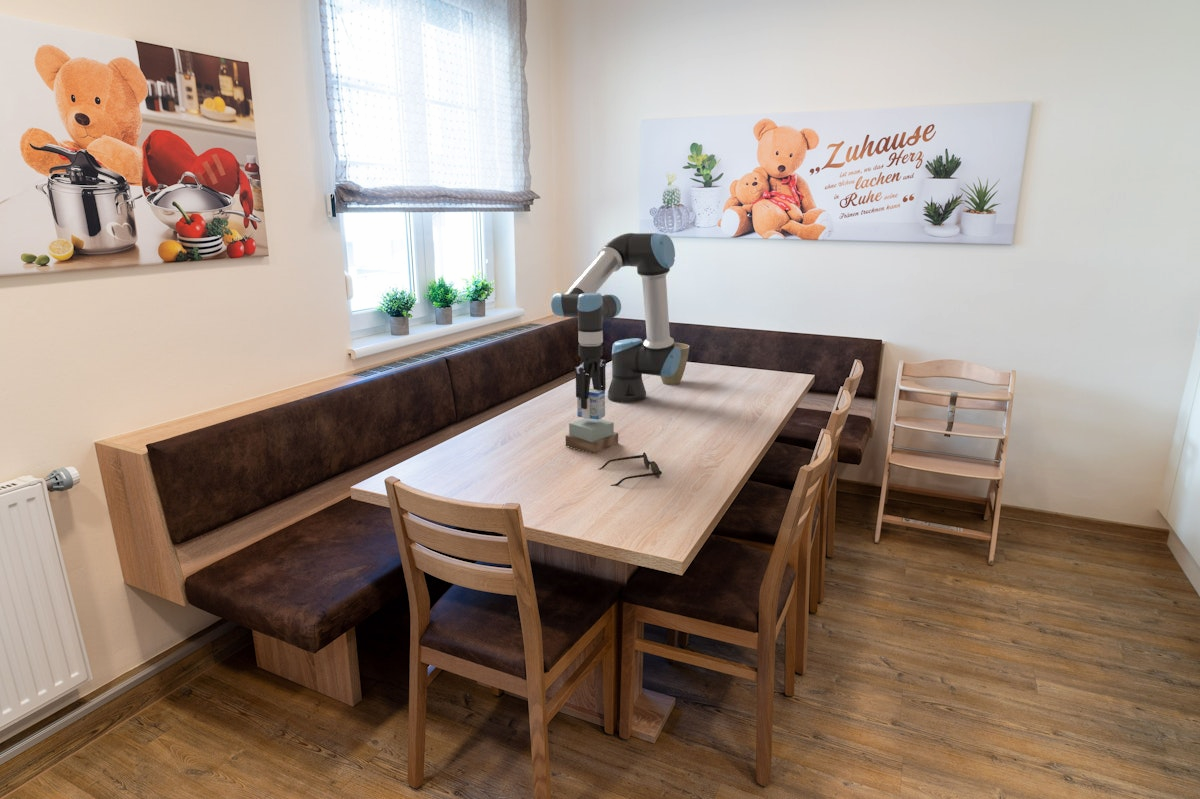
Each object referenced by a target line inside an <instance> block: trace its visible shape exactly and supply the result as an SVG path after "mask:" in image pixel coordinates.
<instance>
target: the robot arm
mask: <svg viewBox="0 0 1200 799" xmlns="http://www.w3.org/2000/svg"><path fill="white" fill-rule="evenodd" d="M597 252H598V253H597V255H596V257H597V258H595V260H593V262H591V264H590V265H589V266H588V267H587V268H586V269H585V271H583V273H582V274H581V275H580V276H579V277H578V278H577V280H575V282H574V283H573V284H572V285H571V286H570V287H569V289H568V290H566V292H559V293H558V292H557V293H555V294H554V295H553V296H552V298H551V302H550V307H551V311H552V313H553V314H554V315H555V316H558V317H564V318H577V330H578V332H577V333H578V337H577V338H578V343H579V344H578V347H577V348H578V350H577V351H578V357H580V364H579V366H575V367H574V372H575V373H574V374H575V397H576V398H581V408H582V417H581V419H584V418H586V419H590V399H589V398H588V394H589V389H590V387H591V386H590V385H591V383H592V387H593V388H592V389H596V390H603V391H605V392H606V389H607V387H606V367H607V360H605V359H602V357H603V354H604V349H603V348H604V347H603V342H604V338H603V337H604V334H603V332H604V331H603V322H605V321H607V320H611V319H614V318H615V317H617V316H619V315H620V313H621V311H622V303H621V300H620V299H619V297H618V296H617V295H614V294H605V295H602V294H601V293H599V292H598V291H599V290H600V288H602V286H603V285H604V284H605V283H606V281H607V280H608V279H609V278H610V277H611V276H612V275H613V273H614V272H618V271H619V270H620V269H621V268H624V267H636V272H637V274H638V275H639V276H640V277H641V280H642V281H641V282H642V294H643V295H642V296H643V307H644V320H645V328H646V330H645V331H646V332H645V334H646V339H644V340H643V339H642V338H638V337H637V338H636V337H635V338H625V339H620V340H616V341H614V343H612V349H611V371H612V372H611V375H612V376H611V381H610V385H609V387H608V391H607V398H608V399H609V401H612V402H617V403H625V404H626V403H638V402H643V401H645V400H646V398H647V391H646V388H645V385H644V382H643V375H650V376H658V377H660V376H661V377H663V376H668V377H670V376H672V375H674V374H675V372H676V371H677V369H678V366H679V363H680V357H681V351H680V348H679V347H677V346H674V343H675V340H674V338H673V337H671V336H670V335H671V332H670V322H669V304H668V303H669V300H668V286H667V275H668V274H669V272H670V270H671V268H672V267H673V266H674V264H675V257H676V249H675V245H674V242H673V240H672V238H671V237H670V236H669V235H667V234H663V233H656V232H655V233H652V232H651V233H649V232H648V233H634V232H628V233H624V234H620V235H618V236H616V237H614V238H612V239H611V240H610V241H608V242H607V243H605V245H604V246H602V247H601V248H600V249H599V251H597ZM661 377H660V378H661Z"/></svg>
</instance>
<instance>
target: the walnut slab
mask: <svg viewBox="0 0 1200 799" xmlns="http://www.w3.org/2000/svg"><path fill="white" fill-rule="evenodd" d="M618 444H619V433H618V432H615V431H614V434H613V435H611V436H608V437H605V438H602V439H600V440H597V441H594V442H590V441H587V440H583V439H580V438H577V437H574V436H570V435H569V434H567V435H565V447H566V446H569V447H568V448H570V447H572V448H571V449H574V448H575V449H574V450H578V449H580V450H579V451H581V450H584V451H583V452H585V451H587V452H586V453H589V452H591V453H590V454H593V453H595V454H594V455H597V454H599V453H601V452H604V451H606V450H607V448H608V449H610V448H612V447H614V446H617V445H618ZM613 445H614V446H613ZM611 446H612V447H611ZM609 447H610V448H609ZM605 449H606V450H605ZM603 450H604V451H603ZM598 452H599V453H598ZM596 453H597V454H596Z"/></svg>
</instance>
